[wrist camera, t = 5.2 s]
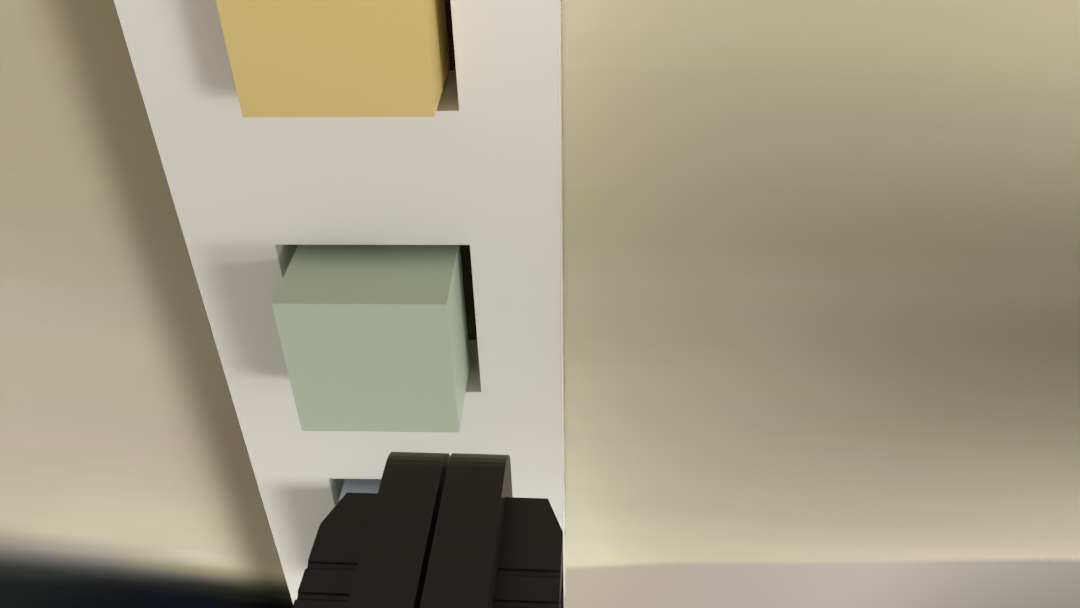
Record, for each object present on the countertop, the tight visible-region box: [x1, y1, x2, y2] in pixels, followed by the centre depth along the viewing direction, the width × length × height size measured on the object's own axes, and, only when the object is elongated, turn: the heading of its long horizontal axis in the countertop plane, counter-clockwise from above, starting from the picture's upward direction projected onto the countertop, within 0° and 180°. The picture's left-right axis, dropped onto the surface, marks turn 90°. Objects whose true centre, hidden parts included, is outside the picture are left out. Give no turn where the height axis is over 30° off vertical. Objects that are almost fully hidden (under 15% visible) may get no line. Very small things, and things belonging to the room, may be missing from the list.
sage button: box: [271, 245, 470, 432], centre depth 25 cm, size 4×4×3 cm
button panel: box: [114, 0, 565, 608], centre depth 28 cm, size 10×32×3 cm, turn 1°
